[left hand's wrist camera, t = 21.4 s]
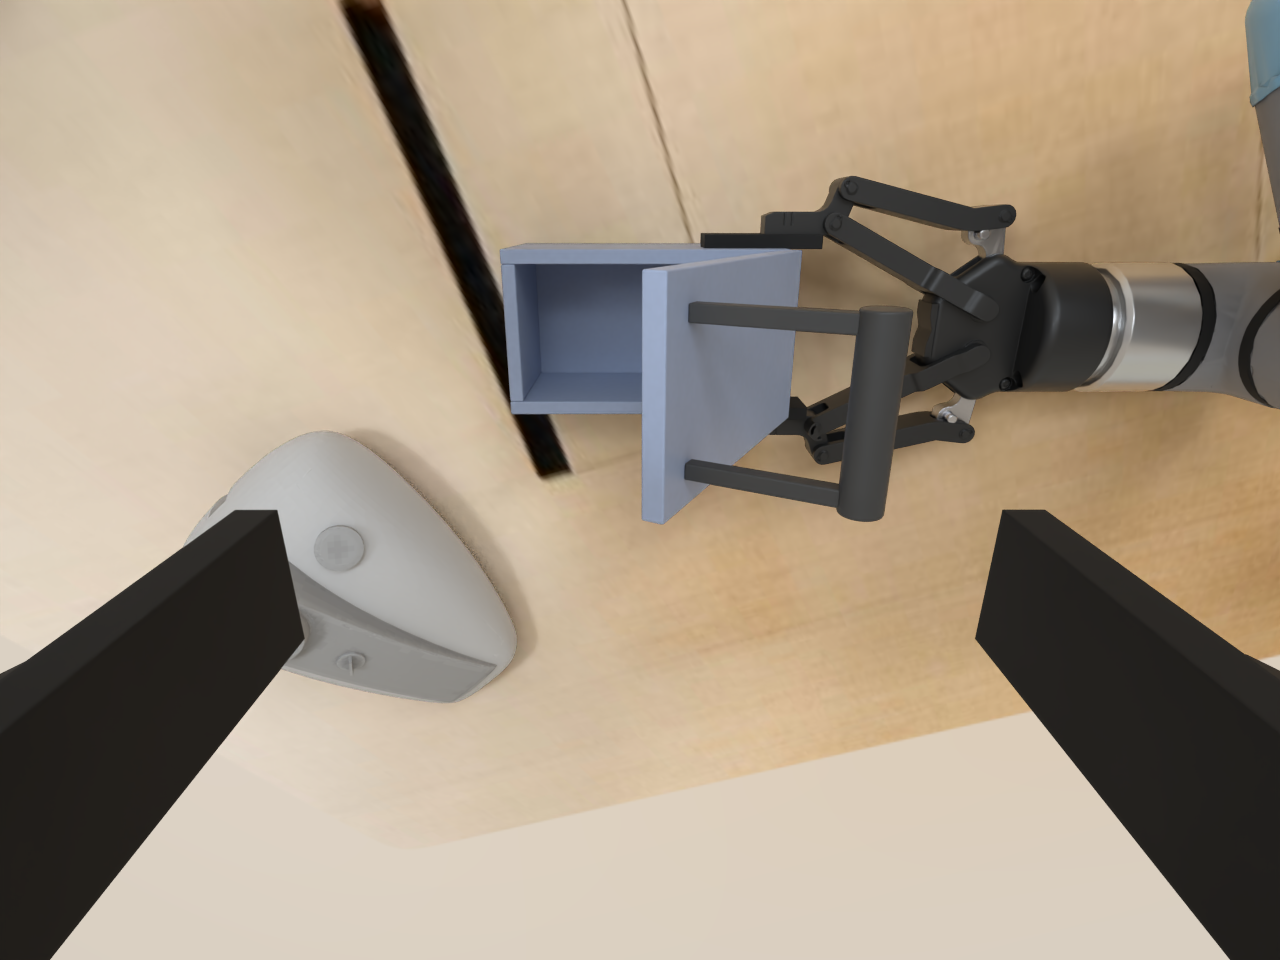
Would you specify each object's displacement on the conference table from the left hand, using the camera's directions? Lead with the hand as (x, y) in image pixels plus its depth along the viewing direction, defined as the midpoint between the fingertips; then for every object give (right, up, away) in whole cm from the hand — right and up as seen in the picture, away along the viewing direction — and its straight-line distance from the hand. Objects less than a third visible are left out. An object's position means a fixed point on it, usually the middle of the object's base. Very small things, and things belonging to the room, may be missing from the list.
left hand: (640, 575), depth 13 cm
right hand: (+4, +11, +28) cm, 30 cm away
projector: (-19, -5, +40) cm, 45 cm away
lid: (+4, +7, +18) cm, 20 cm away
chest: (0, +13, +33) cm, 36 cm away
